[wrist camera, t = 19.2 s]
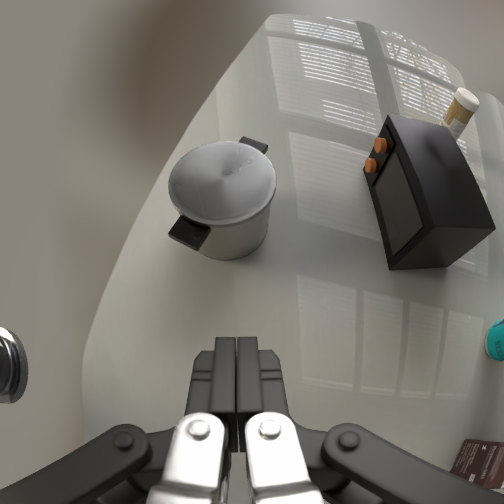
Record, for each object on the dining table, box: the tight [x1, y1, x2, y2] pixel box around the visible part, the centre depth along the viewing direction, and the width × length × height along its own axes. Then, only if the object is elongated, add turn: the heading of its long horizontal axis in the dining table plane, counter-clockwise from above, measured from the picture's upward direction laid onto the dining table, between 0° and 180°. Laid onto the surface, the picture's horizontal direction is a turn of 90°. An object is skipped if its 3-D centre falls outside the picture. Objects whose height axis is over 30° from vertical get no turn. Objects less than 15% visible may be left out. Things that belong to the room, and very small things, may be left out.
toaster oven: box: [363, 114, 496, 270], centre depth 32 cm, size 11×16×11 cm
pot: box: [168, 136, 276, 260], centre depth 32 cm, size 14×11×8 cm
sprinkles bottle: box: [439, 88, 480, 141], centre depth 38 cm, size 5×5×14 cm
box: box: [451, 439, 504, 489], centre depth 18 cm, size 6×6×7 cm
